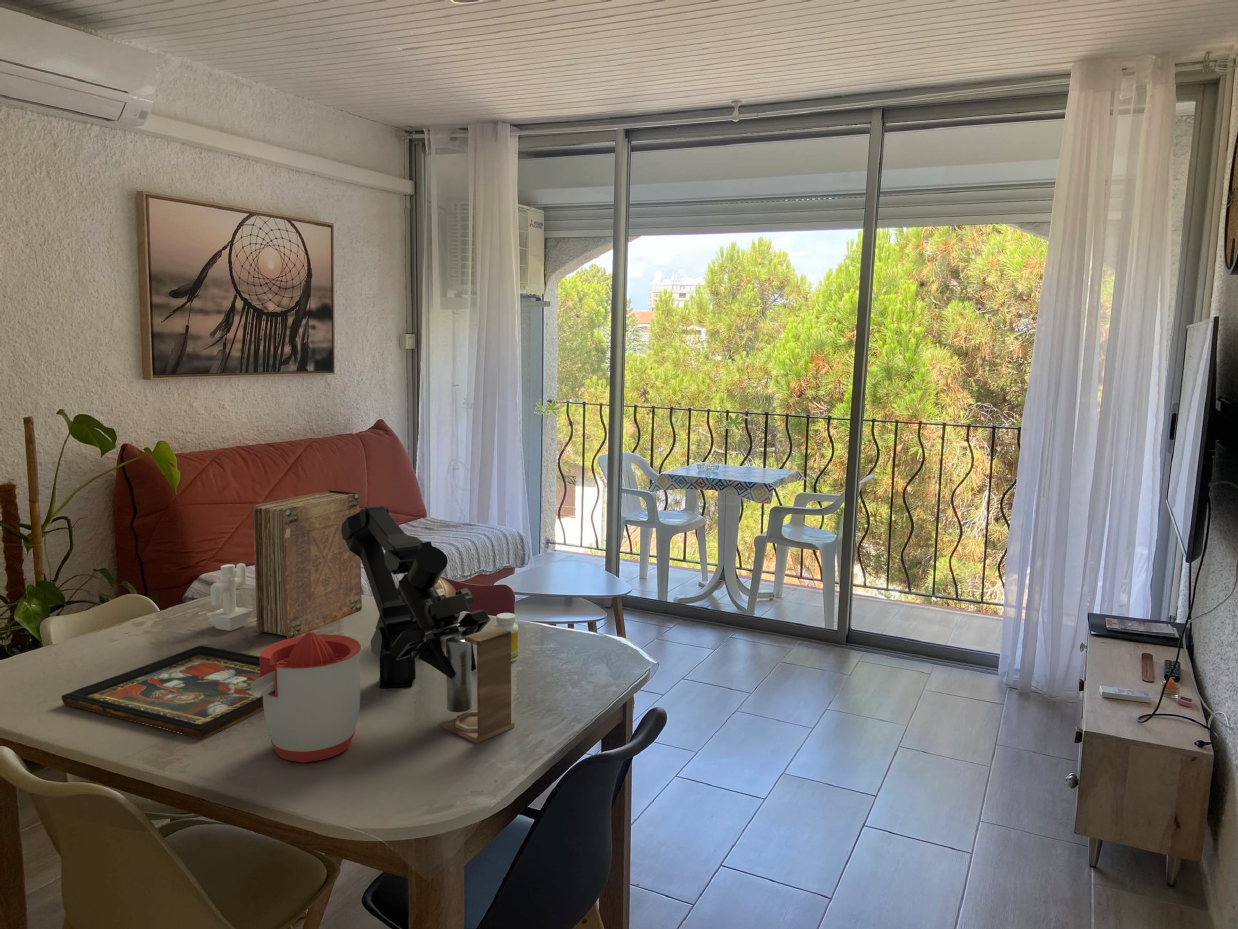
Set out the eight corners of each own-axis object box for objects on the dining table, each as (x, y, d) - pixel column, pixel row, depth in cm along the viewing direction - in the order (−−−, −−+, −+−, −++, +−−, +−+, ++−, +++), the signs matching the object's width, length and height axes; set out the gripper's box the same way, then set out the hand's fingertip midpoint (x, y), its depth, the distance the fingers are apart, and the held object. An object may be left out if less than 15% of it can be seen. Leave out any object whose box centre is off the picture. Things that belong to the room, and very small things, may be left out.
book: (287, 639, 197) (282, 509, 193) (256, 634, 201) (251, 505, 197) (362, 609, 220) (359, 492, 216) (333, 605, 224) (329, 489, 220)
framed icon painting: (340, 672, 179) (340, 659, 179) (219, 747, 146) (219, 730, 145) (187, 653, 189) (186, 640, 189) (41, 718, 156) (40, 702, 155)
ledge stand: (442, 727, 153) (441, 630, 150) (479, 712, 159) (479, 619, 157) (477, 743, 147) (476, 642, 145) (514, 727, 153) (514, 630, 151)
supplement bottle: (492, 663, 184) (492, 619, 183) (493, 654, 189) (493, 612, 188) (518, 663, 185) (518, 619, 183) (518, 654, 190) (518, 611, 189)
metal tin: (441, 709, 155) (440, 641, 153) (456, 700, 159) (455, 634, 157) (462, 714, 153) (461, 645, 151) (476, 705, 157) (476, 638, 155)
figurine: (202, 630, 202) (199, 567, 200) (234, 619, 211) (231, 558, 209) (226, 635, 200) (223, 571, 198) (257, 623, 208) (255, 562, 206)
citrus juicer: (237, 750, 143) (231, 632, 141) (336, 719, 155) (333, 611, 153) (277, 784, 132) (272, 658, 130) (380, 749, 144) (378, 632, 142)
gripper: (399, 586, 148) (441, 664, 143) (483, 566, 163) (524, 637, 157) (373, 621, 154) (413, 697, 149) (456, 599, 169) (495, 668, 163)
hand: (463, 673), depth 154 cm, fingers closed on metal tin, 4 cm apart
